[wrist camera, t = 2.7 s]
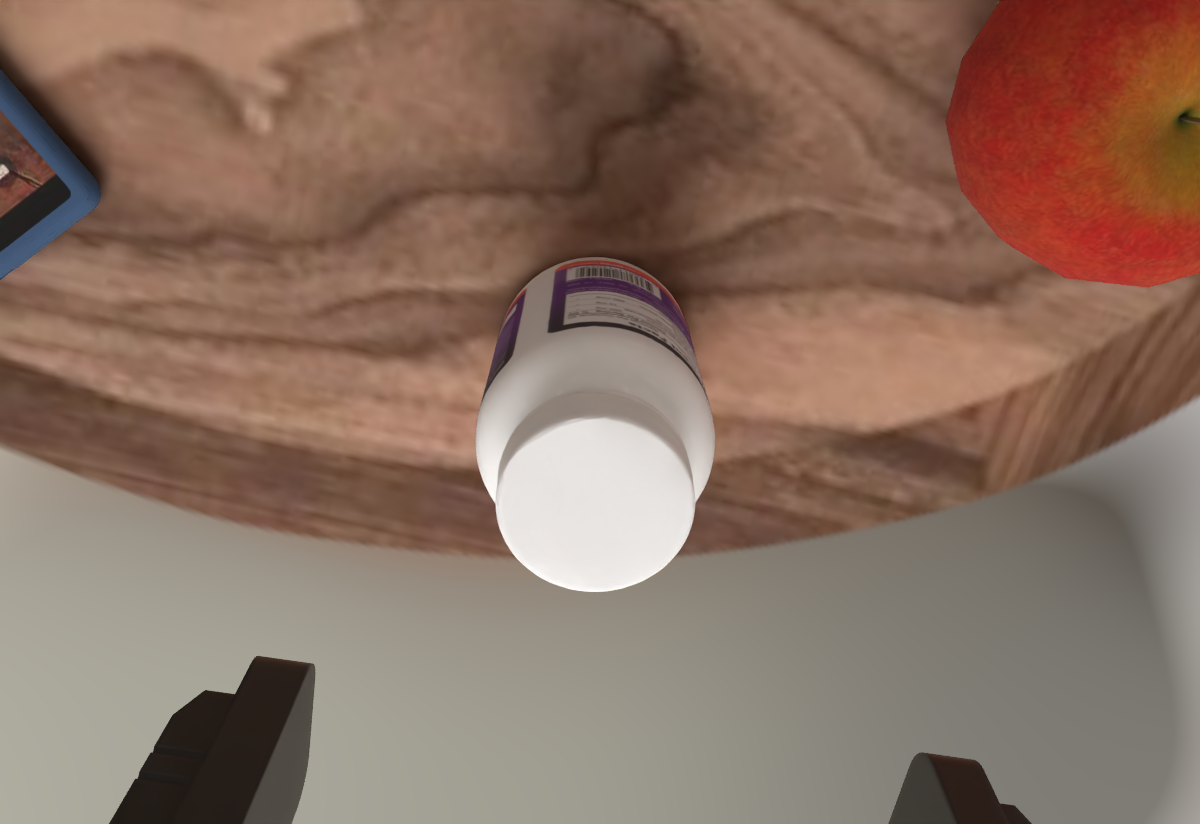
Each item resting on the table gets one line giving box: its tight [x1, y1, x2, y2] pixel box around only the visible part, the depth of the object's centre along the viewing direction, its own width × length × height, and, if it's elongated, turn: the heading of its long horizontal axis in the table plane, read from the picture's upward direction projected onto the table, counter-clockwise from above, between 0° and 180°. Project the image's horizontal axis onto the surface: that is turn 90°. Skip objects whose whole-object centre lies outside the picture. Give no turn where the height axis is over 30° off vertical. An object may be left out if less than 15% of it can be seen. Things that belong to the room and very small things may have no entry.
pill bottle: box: [476, 257, 715, 592], centre depth 25 cm, size 5×5×10 cm
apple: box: [946, 0, 1200, 287], centre depth 23 cm, size 8×8×8 cm
